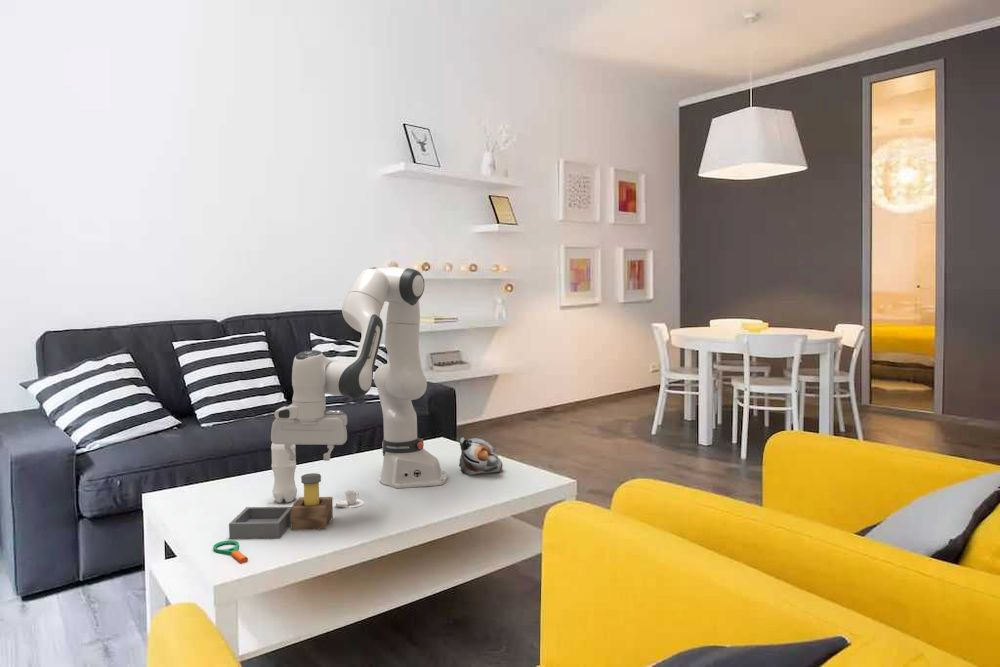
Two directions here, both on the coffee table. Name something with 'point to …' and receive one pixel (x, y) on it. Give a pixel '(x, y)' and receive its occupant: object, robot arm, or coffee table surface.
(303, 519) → the holder
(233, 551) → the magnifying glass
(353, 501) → the teacup and saucer
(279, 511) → the tray
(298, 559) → the coffee table surface
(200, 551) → the coffee table surface
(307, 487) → the peg
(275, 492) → the water bottle
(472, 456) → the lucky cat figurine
